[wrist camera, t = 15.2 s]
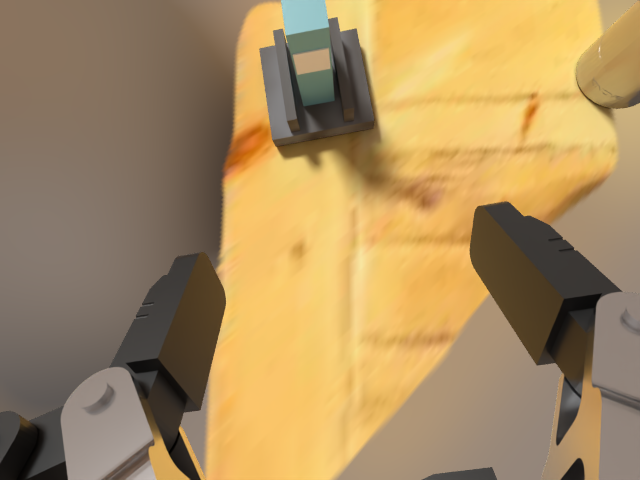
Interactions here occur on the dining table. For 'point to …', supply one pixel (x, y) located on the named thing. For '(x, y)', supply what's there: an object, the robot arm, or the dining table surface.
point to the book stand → (324, 118)
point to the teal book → (310, 48)
